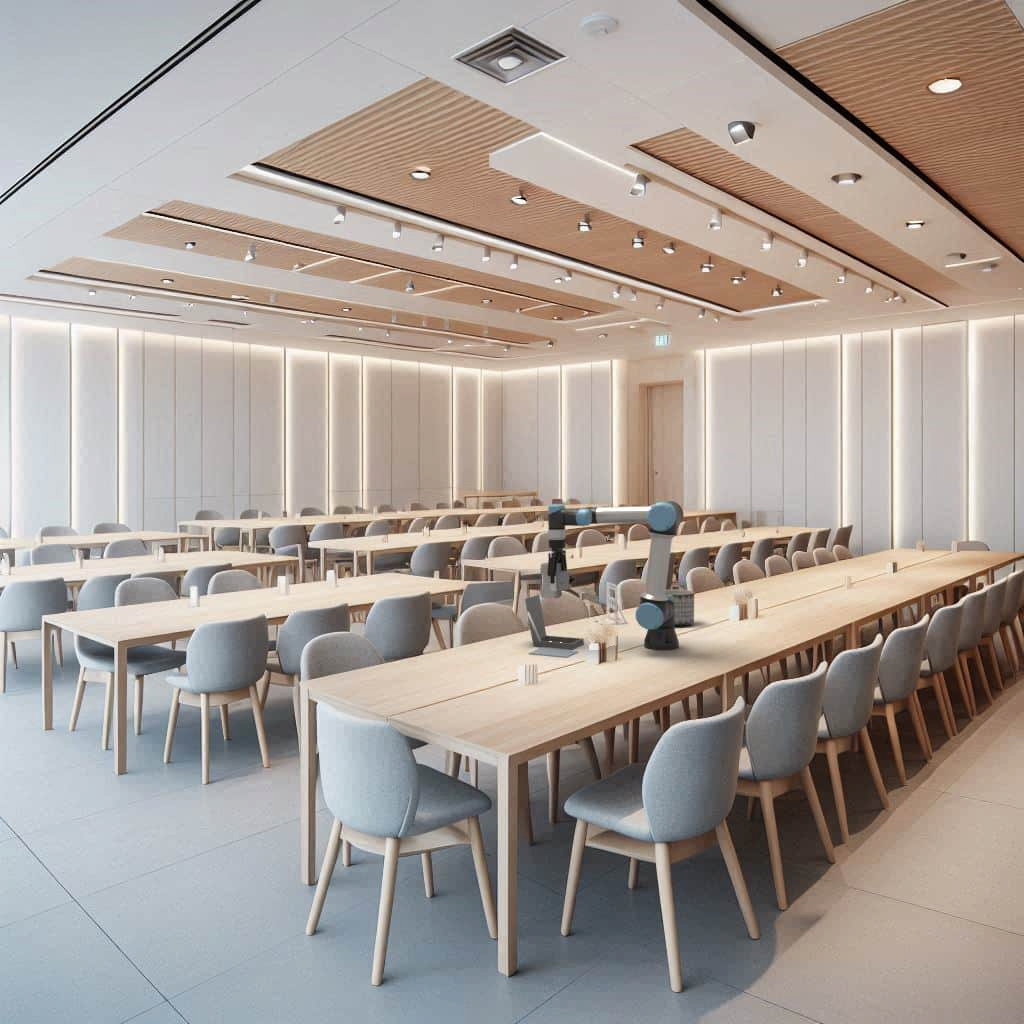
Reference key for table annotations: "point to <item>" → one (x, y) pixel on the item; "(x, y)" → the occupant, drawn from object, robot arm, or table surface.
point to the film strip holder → (609, 605)
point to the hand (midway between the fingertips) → (557, 589)
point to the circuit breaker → (561, 581)
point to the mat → (553, 652)
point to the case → (539, 628)
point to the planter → (683, 606)
